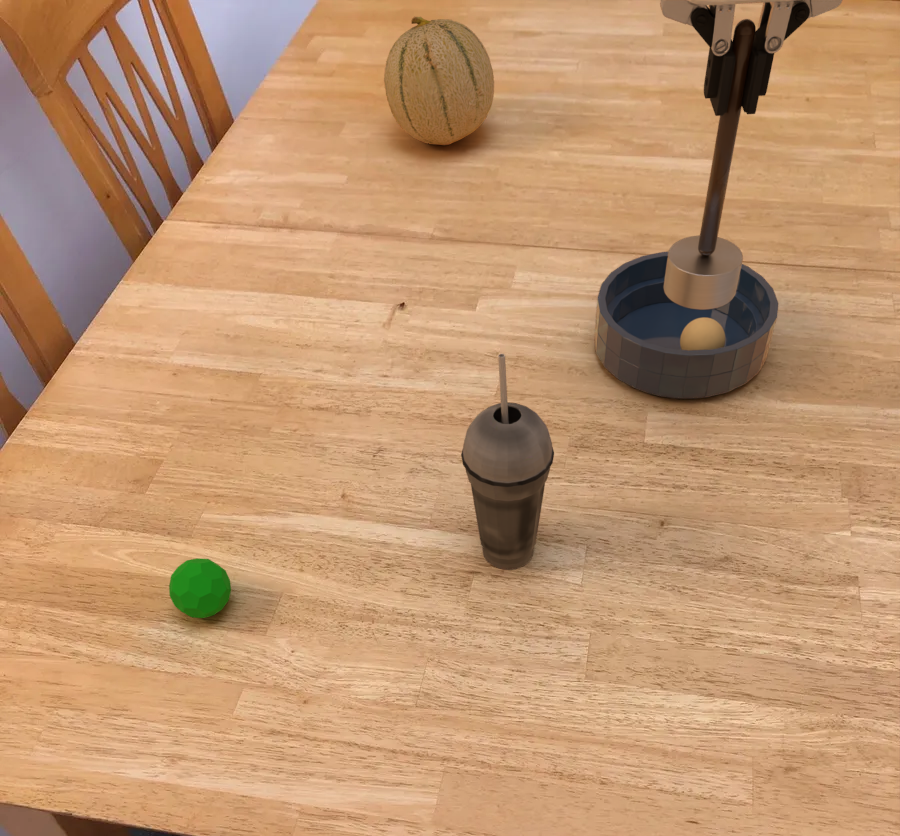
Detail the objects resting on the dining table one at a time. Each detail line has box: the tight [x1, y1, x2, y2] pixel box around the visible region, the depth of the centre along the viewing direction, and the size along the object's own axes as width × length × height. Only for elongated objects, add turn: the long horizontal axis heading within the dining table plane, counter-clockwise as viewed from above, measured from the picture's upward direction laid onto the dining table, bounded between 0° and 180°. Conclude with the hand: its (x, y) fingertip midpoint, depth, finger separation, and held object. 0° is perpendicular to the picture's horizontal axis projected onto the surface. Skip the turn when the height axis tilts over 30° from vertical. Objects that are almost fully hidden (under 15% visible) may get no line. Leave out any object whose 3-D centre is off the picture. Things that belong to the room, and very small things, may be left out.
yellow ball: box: [680, 317, 725, 350], centre depth 93 cm, size 4×4×4 cm
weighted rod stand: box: [664, 18, 757, 310], centre depth 70 cm, size 6×6×21 cm
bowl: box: [593, 250, 779, 400], centre depth 95 cm, size 18×18×6 cm
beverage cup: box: [460, 353, 555, 571], centre depth 73 cm, size 7×7×20 cm
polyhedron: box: [168, 557, 232, 619], centre depth 77 cm, size 5×5×5 cm
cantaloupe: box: [383, 16, 495, 146], centre depth 122 cm, size 15×15×15 cm
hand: (732, 104), depth 66 cm, fingers closed on weighted rod stand, 1 cm apart
